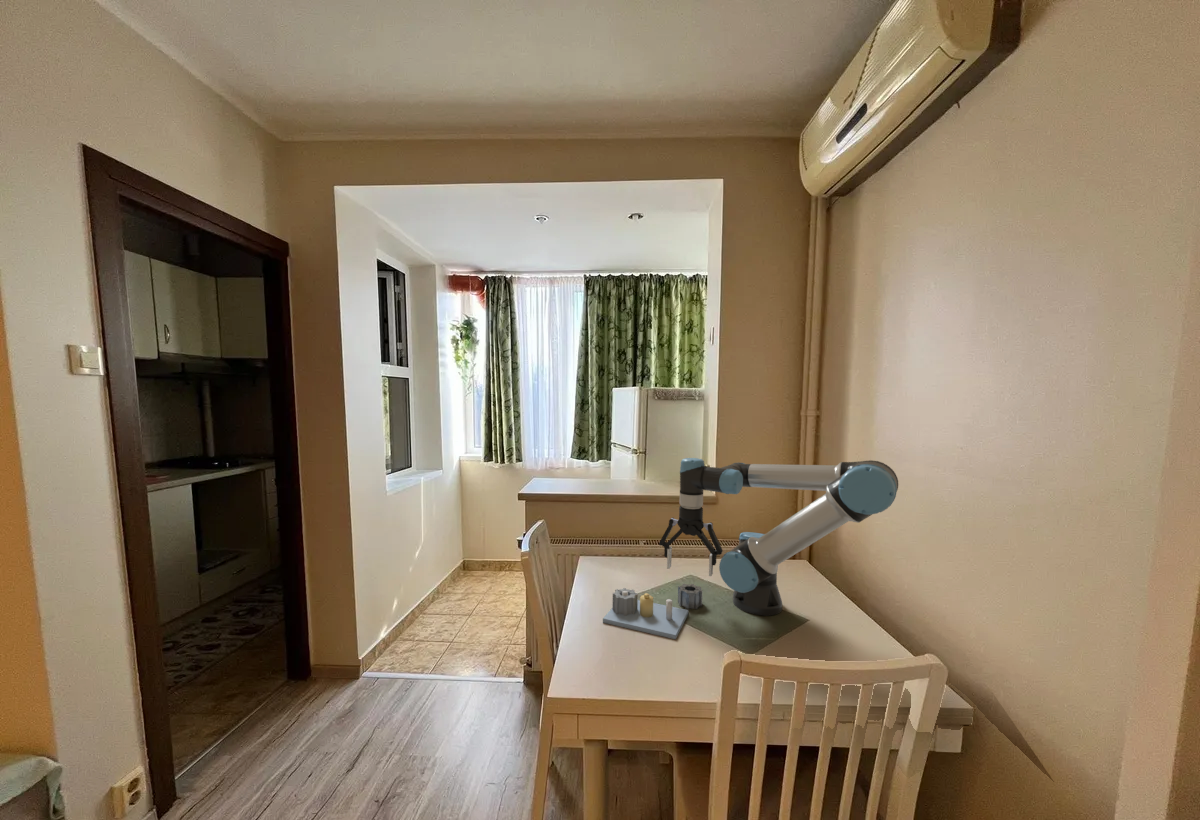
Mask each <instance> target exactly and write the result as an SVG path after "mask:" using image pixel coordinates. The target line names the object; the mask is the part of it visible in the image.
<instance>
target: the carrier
mask: <svg viewBox="0 0 1200 820" xmlns="http://www.w3.org/2000/svg"><path fill="white" fill-rule="evenodd" d="M638 594H639V593H638V592H635V590H634V589H632V588H631V589H630V588H629V589H627V588H625V587H623V588H620V589H618V588H616V589H615V590H614V592H612V607H611V609H610V610H608V612H607V613H606V614H605V615H604V617H603V618H602V623H604V624H609V625H612V626H615V627H616V626H617V627H621V628H625V629H629V630H634V631H636V632H637V631H638V632H642V633H647V634H651V635H654V636H658V637H659V636H660V637H664V638H667V639H672V640H676V639H677V637H678V636H679V634H680V632H681V630H682V628H683V625H684V624H685V621H686V619H687V618H688V615H689V609H686V608H685V609H684V608H680V607H677V606H673V600H672V599H670V598H668V599H666V600H665V601H666V603H665V604H661V603H655V602H654V597H653V596H652V595H650V594H649V593H644V594H642V595H640V597H638ZM638 598H639V599H638Z"/></svg>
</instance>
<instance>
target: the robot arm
mask: <svg viewBox="0 0 1200 820" xmlns="http://www.w3.org/2000/svg"><path fill="white" fill-rule="evenodd" d="M743 488H762V489H765V488H766V489H779V490H780V489H782V490H783V489H784V490H785V489H786V490H798V491H799V490H802V491H818V492H819V491H823V492H825V493H824V494H823V495H821V496H820V497H818V498H817V499H815V500H814V501H812V502H810V504H808V505H806V506H805V507H803V508H802V509H800V510H798V512H796V513H794V514H793V515H791V516H790V517H788V518H787V519H785V520H784V521H782V522H781V523H780V524H778V525H776V526H775V527H773V528H772V529H771V530H769V531H767V532H766V533H760V532H751V531H743V532H740V534H739V537H738V541H739V542H738V544H737V546H735V547H734V548H732V549H731V550H729V551H727V552H725V553H724V554H723V552H724V551H723V548H722V545H721V544H720V542H719V539H718V537H717V535H716V533H715V531H714V524H713V522H709V523H707V522H705V523H704V521H703V520H704V519H703V518H704V508H703V506H704V491H709V492H715V493H722V494H726V495H729V494H730V495H738V494H740V493H741V491H742V490H743ZM898 490H899V479H898V476H897V474H896V472H895V471H894V470H893V468H891V466H889V465H887V464H885V463H884V462H882V461H878V460H871V459H870V460H861V461H841V462H839V463H838V464H837V465H836V464H835V465H832V464H830V465H829V464H828V465H827V464H826V465H825V464H777V463H775V464H772V463H766V464H765V463H764V464H763V463H745V462H733V463H731V464H728V465H725V466H722V467H715V466H713V467H712V466H707V465H705V461H704V460H703V459H702V458H698V457H685V458H682V459H681V461H680V467H679V501H678V502H679V507H678V512H679V513H678V519H676V518H674V517H671V518H670V519H669V520H668V525H667V528H666V530H665V532H664V533H663V535H662V537H661V539H660V540H659V542H658V545H659V546H662V547H663V548H664V551H663V553H664V555H663V556H664V558H666V569H669V570H670V569H671V567H672V554H673V553H672V548H673V547H672V546H671V545H672V543H674V542H675V541H676V540H677V538H679V537H681V535H682V533H683V534H684V536H689V535H690V536H691V537H695V536H697V538H698V539H700V541H701V542H702V543H703V545H704V546H705V548H707V550H708V552H710V554H709V561H708V562H709V564H708V576H709V577H712V575H713V574H714V572H713V571H714V566H716V564H717V557H718V555H719V556H720V555H722V554H723V556H722V557H721V559H720V561H719V567H718V568H719V575H720V577H721V579H722V580H723V583H725V585H726V586H727V587H728V588H729V589H731V590H733V594H732V603H733V605H734V606H735V607H736V608H737V609H739V610H741V611H743V612H745V613H749V614H751V615H757V616H763V617H764V616H765V617H766V616H775V615H777V614H780V613H781V612H782V610H783V600H782V597H781V594H780V590H779V587H778V584H777V582H778V581H777V580H778V577H777V576H778V575H777V574H778V570H779V569H778V568H779V565H780V564H782V563H783V562H786V560H789V559H790V558H792V557H793V556H794V555H797V554H799V553H800V552H802V551H803V550H804V549H806V548H808V547H809V546H811V545H813V544H814V543H816V542H817V541H819V540H821V539H822V538H824V537H825V536H827V535H829V534H830V533H832V532H834V531H835V530H837V529H838V528H840V527H842V526H843V525H845V524H847V523H848V522H853V523H861V522H862V521H864V520H866V519H867V518H870V517H871V516H872V515H876V514H879V513H882V512H884V511H886V510H887V509H888V508H890V507H891V506H892V504H893V503H894V502H895V499H896V497H897V492H898ZM676 525H677V526H678V528H680V529H679V530H677V532H675V534H674V535H672V536H671V538H670V539H669V540H668V541H666V540H667V538H668V537H669V535H670V533H671V531H672V530H673V527H675V526H676ZM703 528H705V530H706V531H707V532H708V535H709V538H710V539H711V541H712V543H711V541H710V540H709V539H708V537H707V536H706V535H705V533H704V531H703Z"/></svg>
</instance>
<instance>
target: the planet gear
mask: <svg viewBox="0 0 1200 820" xmlns="http://www.w3.org/2000/svg"><path fill="white" fill-rule="evenodd" d="M677 594H678V595H677V602H678V605H679V607H684V608H685V609H686V610H690V609H695V610H698V608H699V607H701V608H702V606H703V590H702V587H701V586H700V585H699V586H698V585H695V584H694V583H691V584H686V583H682V585H678V587H677Z"/></svg>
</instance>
